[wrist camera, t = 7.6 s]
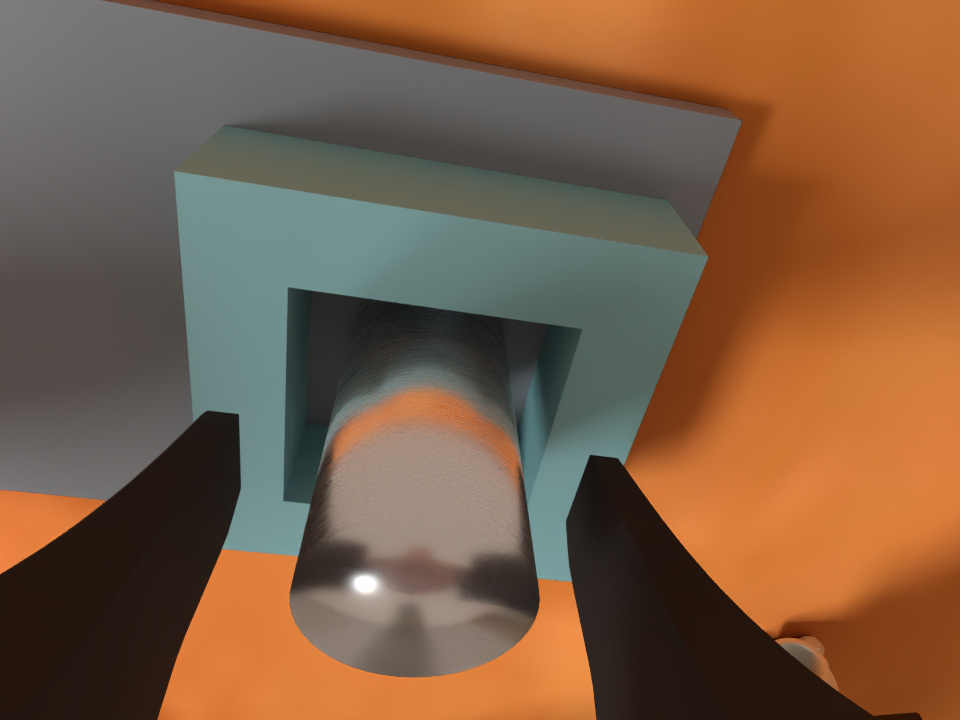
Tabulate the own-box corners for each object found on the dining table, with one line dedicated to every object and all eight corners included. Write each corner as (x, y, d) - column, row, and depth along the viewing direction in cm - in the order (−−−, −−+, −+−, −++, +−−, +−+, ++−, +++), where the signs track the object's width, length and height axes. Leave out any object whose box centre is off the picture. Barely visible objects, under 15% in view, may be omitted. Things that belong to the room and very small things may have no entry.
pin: (351, 400, 18) (296, 675, 12) (350, 268, 16) (281, 514, 9) (495, 408, 19) (522, 678, 12) (513, 280, 16) (557, 524, 10)
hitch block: (15, 466, 21) (-69, 571, 17) (-133, -54, 13) (-333, -42, 10) (572, 524, 23) (591, 627, 20) (727, 109, 15) (801, 164, 12)
